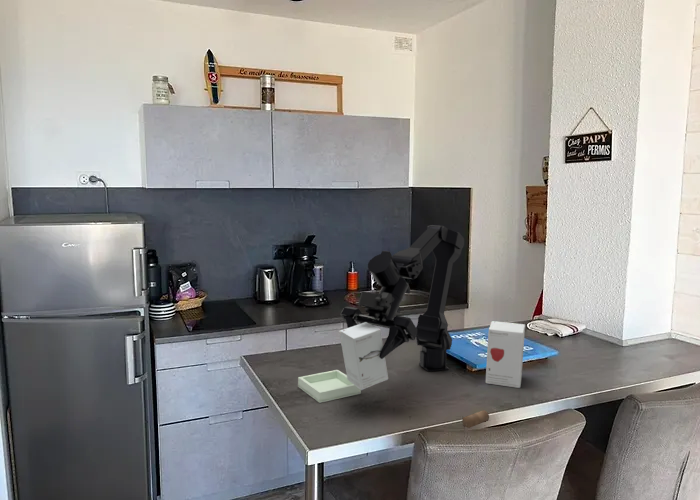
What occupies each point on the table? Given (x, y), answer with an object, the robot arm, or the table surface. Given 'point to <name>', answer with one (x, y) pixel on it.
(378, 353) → the supplement box
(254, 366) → the table surface
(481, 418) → the walnut lock pin
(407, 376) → the table surface
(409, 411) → the table surface
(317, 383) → the dock tray
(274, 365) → the table surface
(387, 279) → the robot arm
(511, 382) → the supplement box
